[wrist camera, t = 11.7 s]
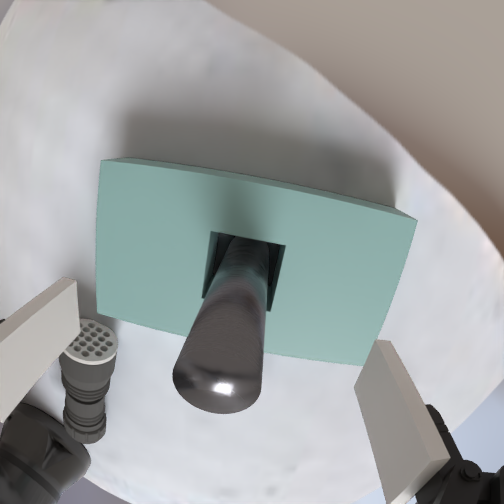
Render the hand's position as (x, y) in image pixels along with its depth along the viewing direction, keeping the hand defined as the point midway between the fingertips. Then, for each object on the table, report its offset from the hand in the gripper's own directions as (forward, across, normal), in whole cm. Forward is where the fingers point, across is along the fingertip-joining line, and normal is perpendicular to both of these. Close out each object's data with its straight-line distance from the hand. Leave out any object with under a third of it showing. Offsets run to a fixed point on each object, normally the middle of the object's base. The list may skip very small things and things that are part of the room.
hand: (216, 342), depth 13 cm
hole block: (+11, 0, 0) cm, 11 cm away
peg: (+11, +1, 0) cm, 11 cm away
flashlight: (+12, -13, -16) cm, 24 cm away
